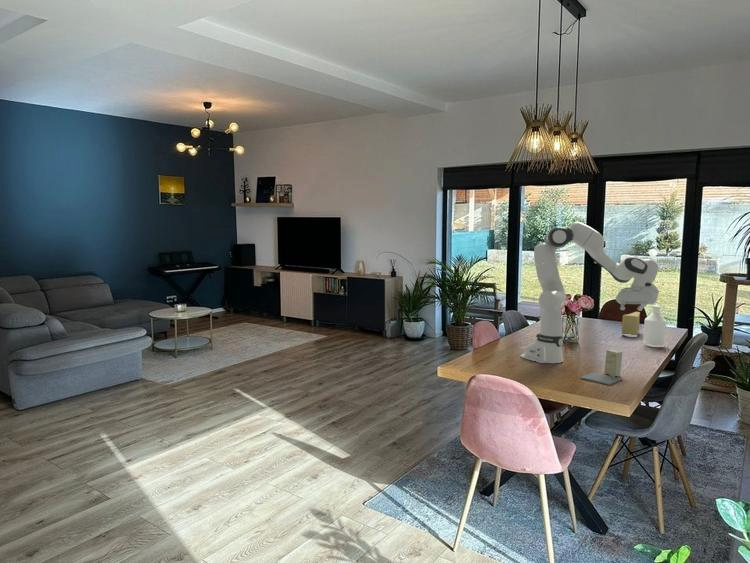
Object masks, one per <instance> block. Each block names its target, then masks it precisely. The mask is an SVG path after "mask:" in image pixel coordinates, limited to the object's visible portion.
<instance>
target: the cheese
mask: <svg viewBox="0 0 750 563" xmlns="http://www.w3.org/2000/svg"><path fill="white" fill-rule="evenodd" d="M640 316H641V312H640V311H634V312H631V313H628V314H623V315H622V319H621V320H622V325H621V335H622V334H631V335H637V336H638V334H639V333H638V331H639V332H640Z"/></svg>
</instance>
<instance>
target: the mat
mask: <svg viewBox="0 0 750 563" xmlns="http://www.w3.org/2000/svg"><path fill="white" fill-rule="evenodd" d="M580 378H581V379H580V380H583V379H585V380H584V381H588V380H589V382H592V381H594V382H593V383H596V382H598V383H597V384H601V383H602V384H601V385H605V384H607V385H606V386H609V385H610V386H612V385H615V384H617V383H619V382H621V381H620V380H622V379H623V380H624V378H623V377H620V376H617V377H614V376H610V375H607V374H605V373H599V372H595V371H593V372H591V373H588V374H586V375H583V376H580ZM623 380H622V381H623ZM618 381H619V382H618ZM616 382H617V383H616ZM614 383H615V384H614ZM611 384H612V385H611Z"/></svg>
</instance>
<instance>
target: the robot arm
mask: <svg viewBox="0 0 750 563" xmlns="http://www.w3.org/2000/svg"><path fill="white" fill-rule="evenodd" d="M569 243H574V244H576V245H578V246H579V247H580V248H581V249H583V250H584V251H585V252H586V253H587V254H589V256H590V258H591V259H593V261H595V262H596V263H597V264H598V265H600V267H602V268H603V269H605V270H606V271H607V272H608V273H609V274H610V276H612V278H613V279H614V280H615V281H616V282H618V283H620V284H624V283H625V284H626V283H629V281H631V280H632V279H633V282H632V283H631V285H630V287H623V288H621V289H620V291H619V292H618V293H617V295H616V297H615V301H616V302H617V303H618V304H620V307H619V309H620V311H625V310H626V307H625V305H638V306H637V308H636V310H637V312H640V311H643V309H644V308H645V307H646V306H647V305H655V304H656V302H657V300H658V297H659V294H660V290H659V289H658V287H657V286H656V285H655V284H654V281H655V279H656V277H657V276H658V272H659V263H657V262H656V261H655V260H653V259H650V258H647V259H646V258H645V259H644V258H643V259H642V258H639V257H637V256H634V255H633V256H632V255H630V256H627V257H626V258H624V259H623V260H622V261H621V262H620V263H619V262H616V261H615V260H614V259H612V258H611V257H610V255H607V253H606V252H605V250H604V246H605V239H604V236H603V235H602V234H601V233H600V232H599V231H597V230H596V229H594V228H593V227H591V226H589V225H587V224H586V223H585V224H584V223H582V222H580V221H574V222H572V223H571V224H570V225H569V226H567V227H566V226H565V227H564V226H556V227H551V228H550V229H549V230H548V232H547V233H546V235H545V239H544V241H543V242H540V243H537V244H536V245H535V246H534V248H533V259H534V266H535V271H536V275H537V280H538V282H539V284H540V287H541V289H542V292H541V294H540V295H539V297H538V304H539V313H540V314H539V315H540V329H539V330H540V331H539V333H537V334H536V335H535V338H536V340H534V341H532V342H530V344H528V345H527V346H526V347H525V351H524V353H522V354H520V358H522V359H526V360H529V361H532V362H535V361H536V362H535V363H539V364H561V362H562V363H564V358H563V351H562V350H563V349H562V346H563V335H562V334H563V333H562V332H563V331H562V330H563V319H562V306H564V304H565V302H566V299H567V294H566V292H565V288H564V286H563V283H562V280H561V277H560V273H559V267H558V263H557V258H556V251H557V249H560V248H563V247H564V246H566V245H568V244H569Z"/></svg>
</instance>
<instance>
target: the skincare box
mask: <svg viewBox="0 0 750 563" xmlns="http://www.w3.org/2000/svg"><path fill="white" fill-rule="evenodd" d="M622 358H623V351H621V350H616V349H613V348H611V349H606V354H605V364H604V374H605V375H607V374H609V376H610V375H612V376H617V377H621V370H622Z"/></svg>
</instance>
